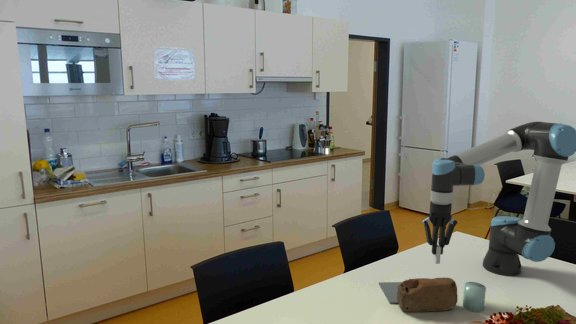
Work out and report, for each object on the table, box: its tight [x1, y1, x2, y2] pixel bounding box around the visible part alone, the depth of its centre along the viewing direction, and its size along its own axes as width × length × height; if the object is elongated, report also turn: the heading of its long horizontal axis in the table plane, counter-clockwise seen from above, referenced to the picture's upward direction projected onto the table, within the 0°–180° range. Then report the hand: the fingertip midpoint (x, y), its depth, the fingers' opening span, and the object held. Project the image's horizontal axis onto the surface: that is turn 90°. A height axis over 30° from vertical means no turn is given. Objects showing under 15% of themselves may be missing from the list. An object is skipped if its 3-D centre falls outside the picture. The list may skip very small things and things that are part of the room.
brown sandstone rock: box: [397, 277, 459, 313], centre depth 152 cm, size 11×8×20 cm
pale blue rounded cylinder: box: [462, 281, 487, 313], centre depth 154 cm, size 7×7×8 cm
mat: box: [378, 281, 403, 305], centre depth 164 cm, size 17×16×1 cm
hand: (436, 262), depth 163 cm, fingers closed
